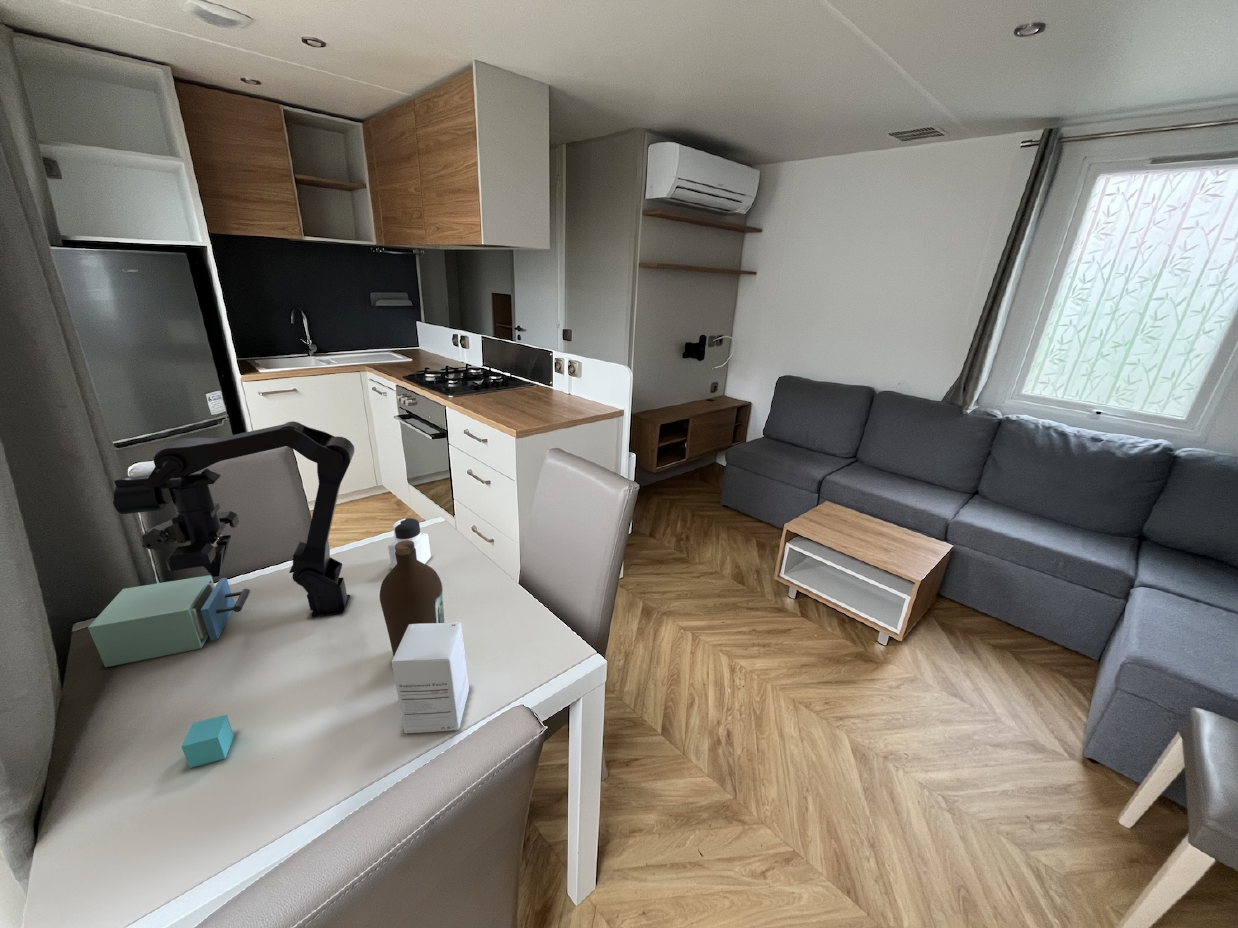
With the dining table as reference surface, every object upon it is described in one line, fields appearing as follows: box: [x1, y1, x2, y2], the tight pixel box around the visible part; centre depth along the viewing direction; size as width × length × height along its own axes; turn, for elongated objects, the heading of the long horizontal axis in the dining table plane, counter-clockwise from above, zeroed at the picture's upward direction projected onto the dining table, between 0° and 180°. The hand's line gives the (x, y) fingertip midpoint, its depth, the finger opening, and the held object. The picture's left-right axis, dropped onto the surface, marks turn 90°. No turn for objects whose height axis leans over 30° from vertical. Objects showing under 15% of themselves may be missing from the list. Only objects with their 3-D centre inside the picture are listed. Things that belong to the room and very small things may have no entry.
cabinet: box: [87, 574, 216, 668], centre depth 98 cm, size 15×13×9 cm
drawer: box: [191, 577, 251, 641], centre depth 100 cm, size 18×11×7 cm, turn 112°
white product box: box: [391, 621, 470, 734], centre depth 81 cm, size 9×9×15 cm
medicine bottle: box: [387, 517, 432, 570], centre depth 125 cm, size 7×7×12 cm
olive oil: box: [379, 540, 445, 658], centre depth 91 cm, size 11×11×25 cm
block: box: [181, 714, 235, 769], centre depth 75 cm, size 4×4×4 cm
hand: (216, 575), depth 99 cm, fingers closed
